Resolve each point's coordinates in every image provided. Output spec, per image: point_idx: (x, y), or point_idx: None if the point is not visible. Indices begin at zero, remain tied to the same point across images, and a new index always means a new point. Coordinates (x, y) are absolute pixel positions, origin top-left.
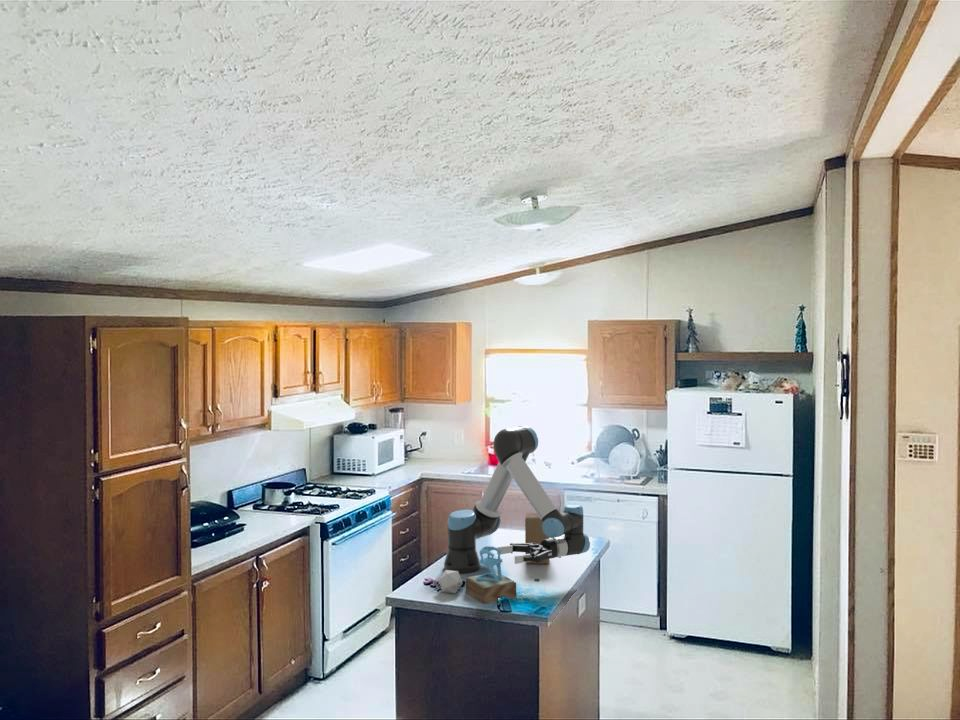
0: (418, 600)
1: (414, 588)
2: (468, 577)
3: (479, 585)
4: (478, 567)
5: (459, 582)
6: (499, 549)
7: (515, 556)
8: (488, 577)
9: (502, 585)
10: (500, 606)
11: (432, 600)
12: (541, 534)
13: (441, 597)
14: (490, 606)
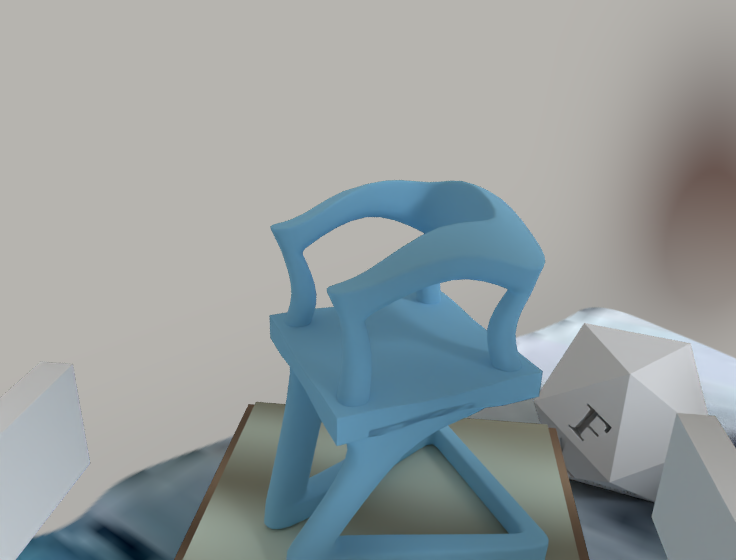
0: (521, 339)
1: (730, 381)
2: (536, 426)
3: None
4: None
5: (552, 421)
6: (680, 462)
7: (47, 364)
8: (451, 529)
9: (187, 534)
10: (113, 553)
11: None
12: None
13: (516, 404)
14: (177, 507)
